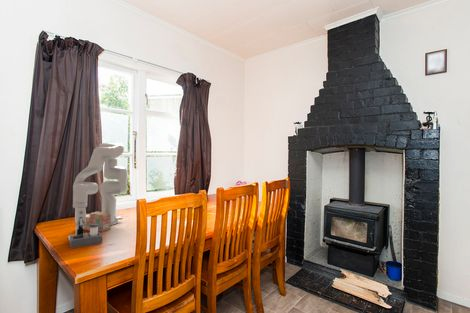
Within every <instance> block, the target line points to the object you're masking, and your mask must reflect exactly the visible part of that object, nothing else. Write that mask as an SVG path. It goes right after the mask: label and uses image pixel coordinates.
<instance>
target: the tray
mask: <svg viewBox="0 0 470 313" xmlns="http://www.w3.org/2000/svg"><path fill="white" fill-rule="evenodd" d="M87 233H88V232H85V233H84V232H83V234H87ZM74 235H75V234H70V235H68V237H67V238H68V241H69V242H70V236H74Z"/></svg>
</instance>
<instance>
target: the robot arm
mask: <svg viewBox="0 0 470 313" xmlns="http://www.w3.org/2000/svg"><path fill="white" fill-rule="evenodd" d="M124 147H125V146H124V145H123V144H122V143H118V142H116V143H114V142H102V143H99V145H98V147H95V148H94V149H93V152H92V153H91V154H92V155H91V157H90V161H89V162H88V164H87V167H85V168H84V169H82V170H81V171H80V172H79V173H78V174H77V175H76V177H75V178H74V179H75V180H74V182H73V185H72V208H73V209H74V220H75V223H76V224H78V229H77V235H80V234H83V233H84V229H83V222H84V223H86V214H87V209H86V208H87V207H88V204H89V203H88V198H89V196H88V195H94V194H96V193H98V191H99V190H100V193H101V212H106V213H110V214H111V222H110V226H112V225H116V224H118V223H119V221H121V220H123V216H117V198H116V196H115V195H123V194H125V193H126V190H127V184H128V182H127V181H128V171H127V169H126V167H124V166H118V158H119V157H120V156H122V155H123V153H124V151H125V148H124ZM101 171H103V175H104V176H103V177H104V179H107V180H106V181H103V182H102V183H101V185H100V187H99V185H98V183H96V182H95V181H94V182H92V181H91V182H90V181H85V180H86V179H87V178H88V177H90V176H91V175H94V174H97V173H99V172H101ZM99 188H100V189H99ZM79 223H80V224H79Z"/></svg>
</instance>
